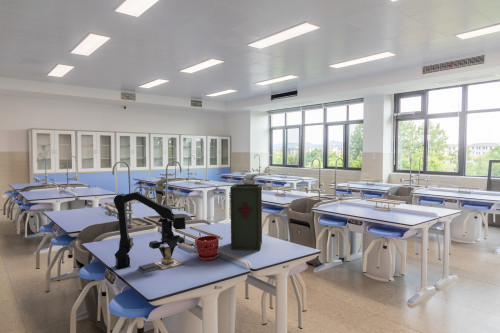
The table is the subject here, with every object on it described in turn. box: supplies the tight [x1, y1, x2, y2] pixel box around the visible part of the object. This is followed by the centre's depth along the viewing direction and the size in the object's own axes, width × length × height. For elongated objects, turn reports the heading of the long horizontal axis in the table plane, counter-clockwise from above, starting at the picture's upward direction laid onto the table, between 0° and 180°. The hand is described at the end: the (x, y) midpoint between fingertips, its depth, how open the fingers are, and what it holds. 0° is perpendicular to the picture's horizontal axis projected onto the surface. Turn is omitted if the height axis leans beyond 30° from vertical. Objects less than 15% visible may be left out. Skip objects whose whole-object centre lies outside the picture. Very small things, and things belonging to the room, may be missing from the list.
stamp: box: [160, 246, 175, 265], centre depth 182 cm, size 5×5×9 cm
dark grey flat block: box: [137, 262, 159, 274], centre depth 174 cm, size 8×7×2 cm
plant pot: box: [195, 235, 220, 261], centre depth 192 cm, size 13×13×12 cm
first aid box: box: [229, 183, 263, 251], centre depth 215 cm, size 18×18×40 cm
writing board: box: [152, 258, 185, 271], centre depth 182 cm, size 13×13×1 cm
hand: (167, 257), depth 182 cm, fingers closed on stamp, 3 cm apart
